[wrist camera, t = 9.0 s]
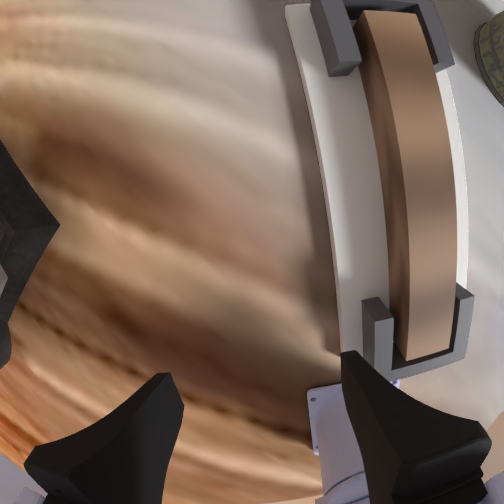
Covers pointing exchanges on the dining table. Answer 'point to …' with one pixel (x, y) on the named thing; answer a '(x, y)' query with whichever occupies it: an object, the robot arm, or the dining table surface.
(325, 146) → the end cap cradle
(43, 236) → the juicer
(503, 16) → the olive stone pillar
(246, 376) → the dining table surface
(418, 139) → the walnut slat
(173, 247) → the dining table surface
